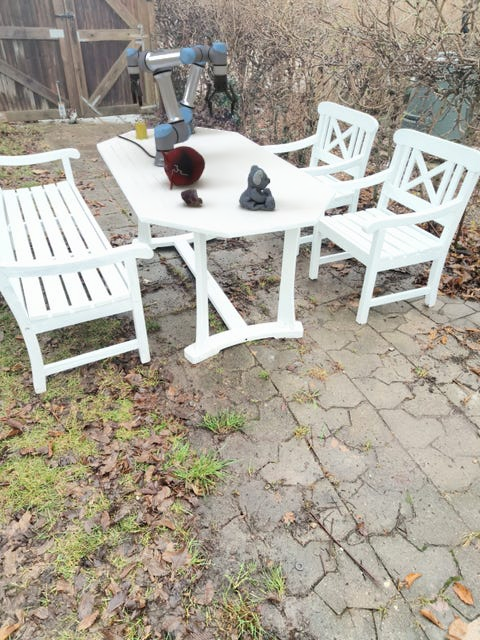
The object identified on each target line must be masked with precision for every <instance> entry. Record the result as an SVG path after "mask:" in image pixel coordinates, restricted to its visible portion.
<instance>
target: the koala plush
mask: <svg viewBox="0 0 480 640" xmlns="http://www.w3.org/2000/svg"><path fill="white" fill-rule="evenodd" d="M270 183H271V178H269V176H268V175H267V173H266V172H265V170H264V169H263V168H261V167H259V165H257V164H253V165H250V170H249V173H248V176H247V188H246V189H245V190H244V191H243V192H242V193H241V194H240V197H239V199H238V203H239V204H240V206H241V207H242V208H246V209H247V210H252V211H255V210H261V211H272V210H274V209H275V208H276V200H275V198H274V196H273V194H272V191H271V188H270V187H268V186H269V185H270Z"/></svg>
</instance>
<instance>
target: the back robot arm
mask: <svg viewBox="0 0 480 640" xmlns="http://www.w3.org/2000/svg"><path fill="white" fill-rule="evenodd" d="M198 46H204V45H203V44H201V43H199V44H193V45H187V46H186V48H188V47H189V48H191V47H198ZM184 48H185V47H179V48H163V49H160V50H165V51H172V50H178V49H184ZM153 50H154V49H145V50H143V51H138V50H137V48H127V49H126V50H125V52H126V53H125V55H126V62H127V71H128V77H129V80H130V93H131V97H132V103H133V105H136V104H138V107H143V106H144V104H143V95H144V94H143V91H142V87H141V82H140V81H139V80H140V79H141V75H140V66H139V63H138V60H139V56H140V54H141V53H143V52H145V51H153ZM189 65H190V68H189V71H188V72H189V73H188V77H187V80H186V84H185V89H184V93H183V96H182V100H180V101H177V104H178V107H179V111H180V115H181V117H182V118H184V121H185V122H186V123H187V124H188V125H189V126H190V129H191V135H192V134H194V133H195V132H196V130H195V127H196V123H194V124H193V117H194V115H193V114H194V111H195V105H194V102H195V98H196V94H197V91H198V88H199V83H200V81H201V80H200V79H201V75H202V73H203V70H205V69H206V66H207V62H199V63H191V64H189Z"/></svg>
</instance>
